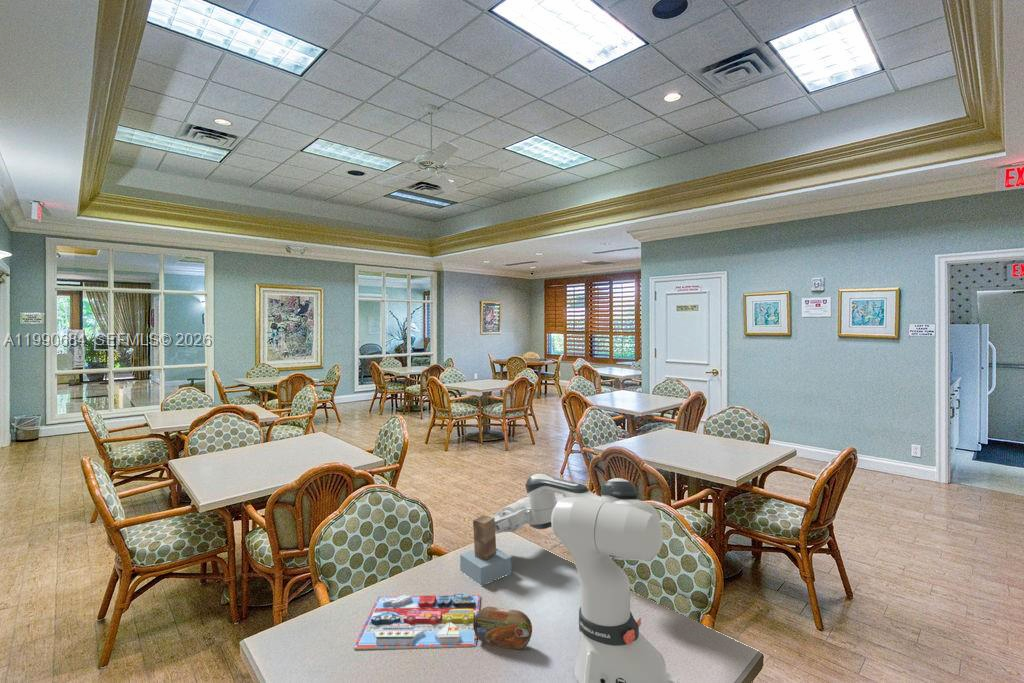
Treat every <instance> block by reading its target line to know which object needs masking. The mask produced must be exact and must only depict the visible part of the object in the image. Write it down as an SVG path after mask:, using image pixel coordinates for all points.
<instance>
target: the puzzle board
mask: <svg viewBox="0 0 1024 683" xmlns="http://www.w3.org/2000/svg"><path fill="white" fill-rule="evenodd" d="M480 606H481V594H475V595H474V594H464V593H454V595H436V594H434V595H427V594H426V595H425V594H424V595H408V594H403V595H395V596H393V595H390V596H388V595H387V596H386V595H385V596H377V598H376V600H375V601H374V604H373V606H372V608H371V610H370V611H369V614H368V616H367V618H366V620H365V622H364V625H363V627H362V628H361V631H360V633H359V635H358V637H357V640H356V641H355V643H354V646H353V650H354V651H367V650H368V651H369V650H370V651H371V650H373V651H374V650H375V651H376V650H401V649H402V650H406V649H408V650H409V649H411V648H413V649H441V648H442V649H444V648H474V647H477V642H478V637H477V636H476V634H475V632H474V628H473V622H474V619H475V617H476V615H477V614H478V613H479V612H480Z"/></svg>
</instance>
